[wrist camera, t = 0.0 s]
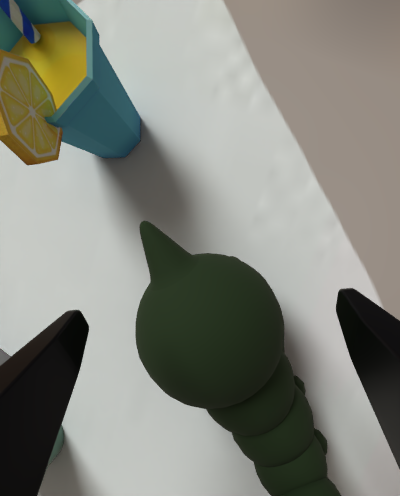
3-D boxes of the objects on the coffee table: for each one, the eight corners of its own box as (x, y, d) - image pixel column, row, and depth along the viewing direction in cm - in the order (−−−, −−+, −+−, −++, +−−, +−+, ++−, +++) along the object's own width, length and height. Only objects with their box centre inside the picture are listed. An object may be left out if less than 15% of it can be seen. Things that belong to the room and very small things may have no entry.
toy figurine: (349, 436, 25) (217, 192, 24) (710, 1075, 7) (191, 107, 5) (256, 475, 26) (124, 244, 25) (333, 1103, 8) (-175, 334, 6)
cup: (46, 69, 26) (-209, -156, 11) (119, 30, 25) (-53, -277, 10) (101, 208, 26) (-83, 169, 11) (177, 174, 25) (89, 80, 10)
